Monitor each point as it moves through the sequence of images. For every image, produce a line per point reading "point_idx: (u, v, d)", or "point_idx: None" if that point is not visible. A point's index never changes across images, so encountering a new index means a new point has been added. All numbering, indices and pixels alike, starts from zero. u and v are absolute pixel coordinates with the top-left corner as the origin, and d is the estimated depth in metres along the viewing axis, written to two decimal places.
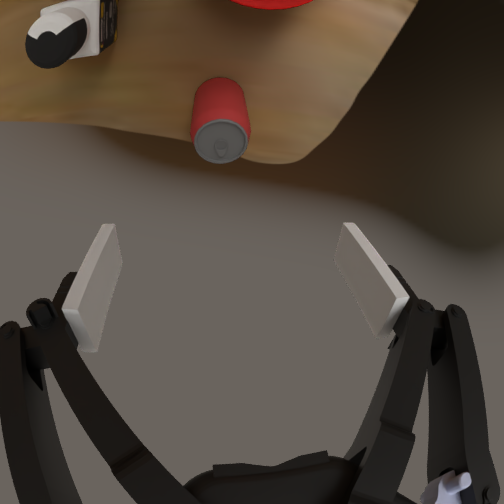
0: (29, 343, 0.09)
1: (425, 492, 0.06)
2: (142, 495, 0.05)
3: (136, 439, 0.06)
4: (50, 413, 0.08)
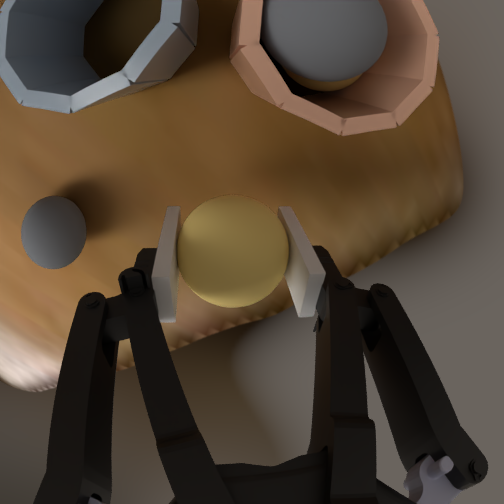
0: (111, 319, 0.10)
1: (407, 482, 0.06)
2: (177, 474, 0.05)
3: (192, 422, 0.07)
4: (112, 390, 0.10)
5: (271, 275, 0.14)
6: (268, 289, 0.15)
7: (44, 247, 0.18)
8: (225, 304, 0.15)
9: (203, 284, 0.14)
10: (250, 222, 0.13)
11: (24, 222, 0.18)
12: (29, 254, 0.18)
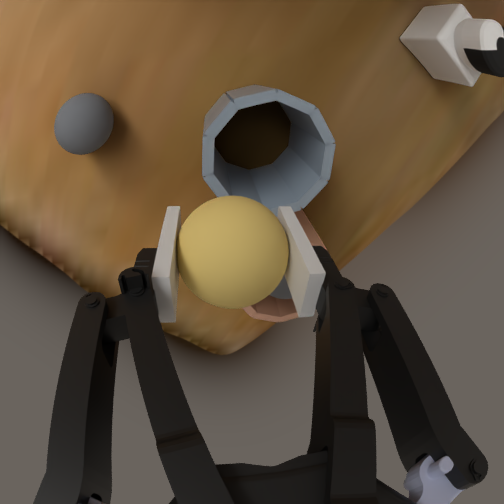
0: (112, 319, 0.10)
1: (407, 483, 0.06)
2: (177, 474, 0.05)
3: (192, 422, 0.07)
4: (112, 390, 0.10)
5: (271, 277, 0.14)
6: (267, 290, 0.15)
7: (78, 135, 0.21)
8: (224, 305, 0.15)
9: (202, 285, 0.14)
10: (250, 224, 0.13)
11: (88, 102, 0.20)
12: (64, 118, 0.20)
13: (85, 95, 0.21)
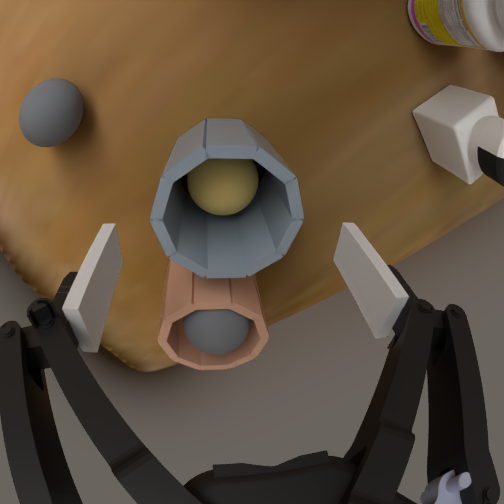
0: (29, 343, 0.09)
1: (425, 492, 0.06)
2: (142, 495, 0.05)
3: (136, 439, 0.06)
4: (50, 412, 0.08)
5: (245, 188, 0.23)
6: (243, 198, 0.23)
7: (39, 127, 0.17)
8: (217, 208, 0.23)
9: (203, 193, 0.22)
10: None
11: (60, 93, 0.16)
12: (31, 104, 0.15)
13: (59, 82, 0.17)
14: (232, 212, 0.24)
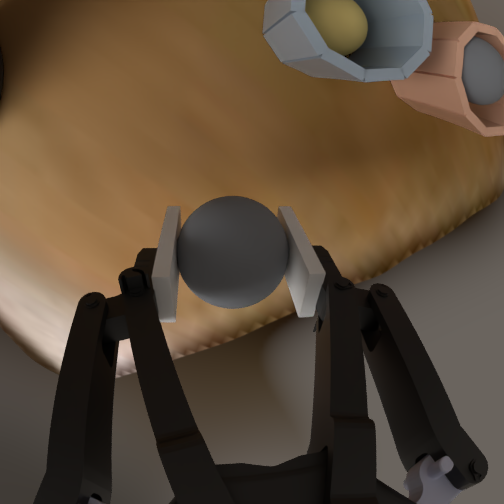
0: (112, 319, 0.10)
1: (407, 483, 0.06)
2: (177, 474, 0.05)
3: (192, 422, 0.07)
4: (112, 390, 0.10)
5: (341, 0, 0.14)
6: (351, 4, 0.15)
7: (252, 280, 0.14)
8: (360, 30, 0.16)
9: (342, 39, 0.16)
10: (305, 8, 0.16)
11: (201, 237, 0.13)
12: (209, 291, 0.14)
13: (184, 236, 0.14)
14: (365, 19, 0.16)
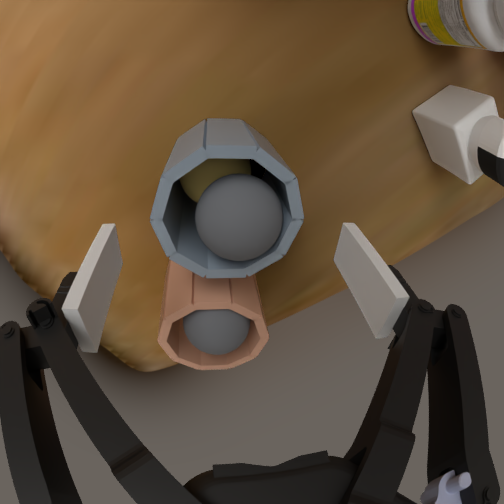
0: (29, 343, 0.09)
1: (425, 492, 0.06)
2: (142, 495, 0.05)
3: (136, 439, 0.06)
4: (50, 413, 0.08)
5: (230, 171, 0.22)
6: None
7: None
8: (200, 192, 0.22)
9: (187, 175, 0.22)
10: None
11: (244, 236, 0.18)
12: (244, 259, 0.20)
13: (222, 233, 0.18)
14: None
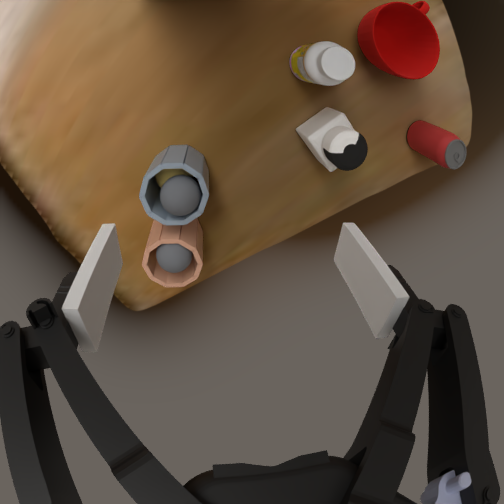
0: (29, 343, 0.09)
1: (425, 492, 0.06)
2: (142, 495, 0.05)
3: (136, 439, 0.06)
4: (50, 413, 0.08)
5: (178, 173, 0.43)
6: None
7: (195, 207, 0.42)
8: None
9: (158, 176, 0.43)
10: None
11: (178, 202, 0.39)
12: (181, 214, 0.41)
13: (169, 201, 0.39)
14: None
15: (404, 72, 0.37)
